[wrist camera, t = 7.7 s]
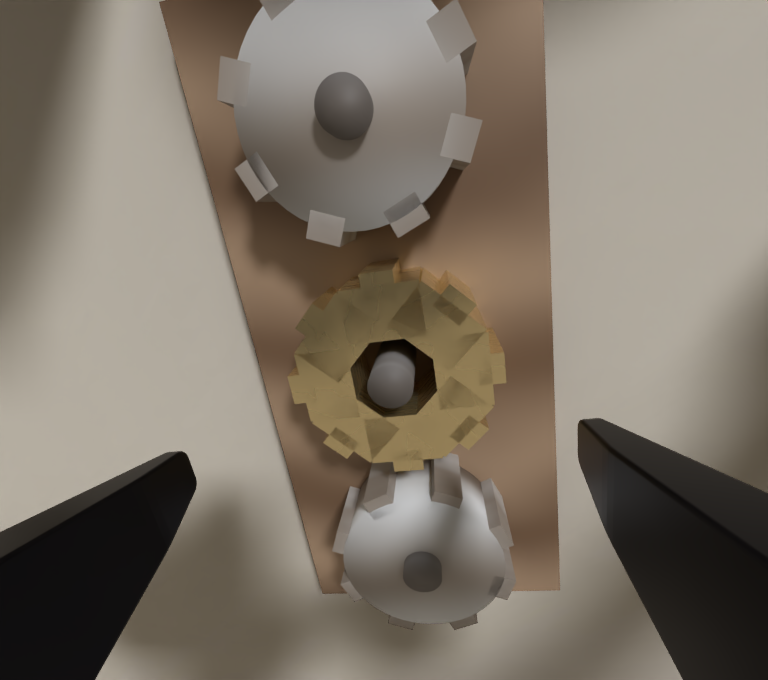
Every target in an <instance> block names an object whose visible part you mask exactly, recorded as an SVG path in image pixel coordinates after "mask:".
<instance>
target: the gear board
mask: <svg viewBox="0 0 768 680" xmlns="http://www.w3.org/2000/svg"><path fill="white" fill-rule="evenodd" d="M159 3H160V7H161V10H162V14H163V18H164V21H165V25H166V28H167V32H168V36H169V39H170V43H171V46H172V50H173V54H174V57H175V61H176V65H177V68H178V72H179V75H180V79H181V83H182V86H183V90H184V94H185V97H186V101H187V104H188V108H189V112H190V115H191V119H192V123H193V126H194V130H195V133H196V137H197V141H198V144H199V148H200V151H201V155H202V159H203V162H204V166H205V170H206V173H207V177H208V180H209V184H210V188H211V191H212V195H213V199H214V202H215V206H216V209H217V213H218V217H219V220H220V224H221V227H222V231H223V235H224V238H225V242H226V246H227V249H228V253H229V256H230V260H231V264H232V267H233V271H234V275H235V278H236V282H237V285H238V289H239V293H240V296H241V300H242V303H243V307H244V311H245V314H246V318H247V322H248V325H249V329H250V332H251V336H252V340H253V343H254V347H255V351H256V354H257V358H258V361H259V365H260V369H261V372H262V376H263V379H264V383H265V387H266V390H267V394H268V398H269V401H270V405H271V408H272V412H273V416H274V419H275V423H276V427H277V430H278V434H279V437H280V441H281V445H282V448H283V452H284V456H285V459H286V463H287V466H288V470H289V474H290V477H291V481H292V484H293V488H294V492H295V495H296V499H297V503H298V506H299V510H300V513H301V517H302V521H303V524H304V528H305V532H306V535H307V539H308V542H309V546H310V550H311V553H312V557H313V560H314V564H315V568H316V571H317V575H318V579H319V582H320V586H321V589H322V593H323V594H332V593H348V594H349V596H350V597H351V598H352V599H353V601H354V602H355V601H358V600H361V599H363V598H364V599H365V600H366V601H367V602H368V603H370V604H371V605H372V606H374V607H375V608H377V609H379V610H380V611H382V612H384V613H386V614H388V615H389V621H388V623H390V624H393V625H397V626H400V627H404V628H407V629H411V630H413V627H414V625H415V623H422V624H442V623H450V624H451V626H452V627H453V628H454V630H456V629H459V628H463V627H466V626H469V625H473V624H476V623H478V622H477V613H478V612H479V611H481V610H482V609H484V608H485V607H486V606H487V605H488V604H489V603H491V602H492V601H493V599H494V598H495V597H498V598H502V599H505V600H507V599H508V597H509V595H510V593H511V591H539V590H560V573H559V538H558V504H557V469H556V434H555V399H554V364H553V329H552V294H551V260H550V225H549V190H548V155H547V120H546V85H545V50H544V16H543V0H165V1H161V2H159ZM395 258H399V262H400V268H401V269H407V268H413V267H420V266H421V269H422V268H423V267H424V268H425V269H426V270H428V271H429V272H430V273H432V274H433V275H434V276H436V277H437V278H438V279H440V277H441V276H442V275H443V274H444V272H445V271H446V270H447V271H449V272H450V273H451V274H453V275H454V276H455V277H457V278H458V279H459V280H461V281H462V282H463V283H465V284H466V285H467V286H469V287H470V290H471V292H472V294H473V296H474V298H475V301H476V303H477V306H476V307H477V308H478V310H479V312H480V314H481V316H482V318H483V321H484V323H485V325H486V327H487V328H491V327H492V328H493V330H494V332H495V334H496V337H497V339H498V341H499V343H500V345H501V347H502V349H503V351H504V356H505V369H506V383H502V384H493V390H494V401H495V405H494V407H493V408H492V410H491V411H490V412H489V413H488V414H487V415H486V419H487V423H488V427H489V430H488V431H487V432H486V433H485V434H484V435H483V436H482V437H481V438H480V439H479V440H478V441H477V442H476V443H475V444H474V445H473V446H472V447H471V448H470V449H469V450H468V449H467V448H465V447H464V446H462V445H461V444H460V443H459V444H458V445H457V446H456V447H455V448H454V449H453V450H452V451H451V452H450V453H449V454H448V455H447V456H446V457H444V456H443V458H438V459H424V470H411V471H397V472H395V471H394V465H393V462H382V463H373V462H372V461H371V463H370V462H369V461H367V460H366V459H364V458H363V457H361V456H360V455H358V454H357V453H355V452H354V451H353V453H352V454H351V455H350V456H349V457H348V459H346V458H345V457H344V456H342V455H341V454H339V453H338V452H336V451H335V450H333V449H332V448H330V447H329V446H327V445H326V444H324V443H323V442H324V440H325V437H326V435H327V433H326V432H324V431H323V430H321V429H320V428H318V427H317V426H315V425H314V424H312V423H313V421H311V420H310V416H309V412H308V408H307V405H306V403H300V404H294V400H293V396H292V392H291V388H290V385H289V381H288V377H287V376H288V375H289V374H290V373H291V372H292V370H293V369H294V368H295V367H296V361H295V357H294V354H295V351H296V350H297V348H298V347H299V345H300V344H301V342H302V341H303V339H304V338H305V337H306V336H305V335H304V334H302V333H301V332H299V331H298V330H296V329H295V328H296V326H297V325H298V323H299V322H300V320H301V319H302V317H303V316H304V314H305V313H306V311H307V310H308V308H309V307H310V305H311V304H312V303H313V302H314V301H315V300H316V299H318V298H319V297H320V296H321V295H322V294H323V293H325V292H326V291H327V290H328V289H329V288H330V287H333V288H334V289H336V290H337V291H338V290H339V289H340V288H341V287H342V286H343V285H344V284H345V283H346V282H347V281H348V280H349V279H350V278H352V277H353V276H358V274H359V273H360V272H361V271H362V270H363V269H364V268H365V267H366V266H367V265H368V264H369V263H370V262H375V261H382V260H388V259H395ZM364 350H365V355H366V360H367V366H368V369H370V370H371V374H370V377H369V379H368V383H367V390H368V393H369V396H370V397H371V399H372V400H373V401H374V402H375V403H376V404H378V405H380V406H382V407H385V408H398V407H401V406H403V405H405V404H406V403H407V402H408V401H409V400H410V398H411V397H412V394H413V388H414V382H419V381H420V380H421V378H422V377H423V376H424V375H425V374H426V372H427V371H428V370H429V369H430V368H431V367H432V365H433V364H434V363H433V359H432V358H431V357H429V356H428V355H427V354H425V353H424V352H422V351H421V350H420V349H418V348H417V347H415V346H414V345H413V344H411V343H410V342H408V341H407V340H406V339H397V340H389V341H380V342H372V343H369V344H368V346H367V347H366V348H365V349H364Z"/></svg>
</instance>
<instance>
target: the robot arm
mask: <svg viewBox="0 0 768 680" xmlns="http://www.w3.org/2000/svg"><path fill="white" fill-rule="evenodd" d="M578 458H579V463H580V466H581V469H582V472H583V474H584V477H585V479H586V482H587V484H588V487H589V490H590V492H591V495H592V497H593V500H594V503H595V505H596V508H597V510H598V513H599V516H600V518H601V521H602V523H603V526H604V528H605V531H606V533H607V535H608V537H609V539H610V541H611V543H612V545H613V547H614V549H615V551H616V553H617V555H618V557H619V559H620V560H621V562H622V564H623V566H624V568H625V570H626V572H627V574H628V576H629V578H630V580H631V581H632V583H633V585H634V587H635V589H636V591H637V593H638V595H639V597H640V599H641V601H642V602H643V604H644V606H645V608H646V610H647V612H648V614H649V616H650V618H651V620H652V622H653V623H654V625H655V627H656V629H657V631H658V633H659V635H660V637H661V639H662V641H663V643H664V644H665V646H666V648H667V650H668V652H669V654H670V656H671V658H672V660H673V662H674V664H675V665H676V667H677V669H678V671H679V673H680V675H681V677H682V679H683V680H768V493H766V492H764V491H762V490H759V489H757V488H755V487H753V486H751V485H748V484H746V483H744V482H742V481H739V480H737V479H735V478H733V477H730V476H728V475H726V474H724V473H722V472H719V471H717V470H715V469H713V468H710V467H708V466H706V465H704V464H701V463H699V462H697V461H695V460H693V459H690V458H688V457H686V456H684V455H681V454H679V453H677V452H675V451H672V450H670V449H668V448H666V447H664V446H661V445H659V444H657V443H655V442H652V441H650V440H648V439H646V438H643V437H641V436H639V435H637V434H635V433H632V432H630V431H628V430H626V429H623V428H621V427H619V426H617V425H614V424H612V423H610V422H608V421H606V420H603V419H601V418H593V419H583V420H580V421H579V423H578ZM196 484H197V482H196V477H195V474H194V472H193V469H192V466H191V463H190V461H189V458H188V456H187V454H186V453H185V452H182V451H177V452H167V453H164V454H162V455H160V456H158V457H156V458H154V459H152V460H150V461H148V462H146V463H144V464H142V465H139V466H137V467H135V468H133V469H131V470H129V471H127V472H125V473H123V474H121V475H119V476H116V477H114V478H112V479H110V480H108V481H106V482H104V483H102V484H100V485H98V486H96V487H93V488H91V489H89V490H87V491H85V492H83V493H81V494H79V495H77V496H75V497H73V498H71V499H68V500H66V501H64V502H62V503H60V504H58V505H56V506H54V507H52V508H50V509H48V510H45V511H43V512H41V513H39V514H37V515H35V516H33V517H31V518H29V519H27V520H25V521H22V522H20V523H18V524H16V525H14V526H12V527H10V528H8V529H6V530H4V531H2V532H0V680H95V679H96V677H97V675H98V674H99V672H100V670H101V668H102V666H103V665H104V663H105V661H106V659H107V658H108V656H109V654H110V652H111V651H112V649H113V647H114V645H115V643H116V642H117V640H118V638H119V636H120V635H121V633H122V631H123V629H124V627H125V626H126V624H127V622H128V620H129V619H130V617H131V615H132V613H133V612H134V610H135V608H136V606H137V604H138V603H139V601H140V599H141V597H142V596H143V594H144V592H145V590H146V588H147V587H148V585H149V583H150V581H151V580H152V578H153V576H154V574H155V573H156V571H157V569H158V567H159V565H160V564H161V562H162V560H163V558H164V556H165V555H166V553H167V551H168V549H169V547H170V545H171V543H172V541H173V538H174V536H175V534H176V532H177V530H178V527H179V525H180V523H181V521H182V519H183V516H184V514H185V512H186V510H187V508H188V505H189V503H190V501H191V499H192V497H193V494H194V492H195V490H196Z"/></svg>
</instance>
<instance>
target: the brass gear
mask: <svg viewBox="0 0 768 680" xmlns="http://www.w3.org/2000/svg"><path fill="white" fill-rule="evenodd" d="M476 306H477V303H476V301H475V298H474V296H473V294H472V292H471V290H470V287H469V286H467V285H466V284H465V283H463V282H462V281H461V280H459V279H458V278H457V277H455V276H454V275H453V274H451V273H450V272H449V271H447V270H446V271H445V272H444V274H443V275H442V276H441V277H440V279H438V278H437V277H436V276H434V275H433V274H432V273H430V272H429V271H428V270H426V269H425V268H424V267H423V268H422V269H421V266H420V267H413V268H407V269H401V268H400V262H399V258H395V259H388V260H382V261H375V262H370V263H369V264H368V265H367V266H366V267H365V268H364V269H363V270H362V271H361V272H360V273H359V274H358V276H353V277H352V278H350V279H349V280H348V281H347V282H346V283H345V284H344V285H343V286H342V287H341V288H340V289H339V290H338V291H337V290H336V289H334V288H333V287H330V288H329V289H328V290H327V291H326V292H325V293H323V294H322V295H321V296H320V297H319V298H318V299H316V300H315V301H314V302H313V303H312V304H311V305H310V307H309V308H308V310H307V311H306V313H305V314H304V316H303V317H302V319H301V320H300V322H299V323H298V325H297V326H296V328H295V329H296V330H298V331H299V332H301V333H302V334H304V335H305V336H306V337H305V338H304V339H303V341H302V342H301V344H300V345H299V347H298V348H297V350H296V351H295V354H294V357H295V361H296V367H295V368H294V369H293V370H292V372H291V373H290V374H289V375H288V376H287V377H288V381H289V385H290V388H291V392H292V396H293V400H294V404H300V403H306V405H307V408H308V412H309V416H310V420H311V421H313V423H312V424H314V425H315V426H317V427H318V428H320V429H321V430H323V431H324V432H326V433H327V435H326V437H325V440H324V442H323V443H324V444H326V445H327V446H329V447H330V448H332V449H333V450H335V451H336V452H338V453H339V454H341V455H342V456H344V457H345V458H346V459H348V457H349V456H350V455H351V454H352V453H353V451H354V452H355V453H357V454H358V455H360V456H361V457H363V458H364V459H366V460H367V461H369V462H370V463H371V461H372V462H373V463H382V462H393V465H394V471H395V472H397V471H411V470H424V459H438V458H443V456H444V457H446V456H447V455H448V454H449V453H450V452H451V451H452V450H453V449H454V448H455V447H456V446H457V445H458V444H459V443H460V444H461V445H462V446H464V447H465V448H467V449H468V450H469V449H470V448H471V447H472V446H473V445H474V444H475V443H476V442H477V441H478V440H479V439H480V438H481V437H482V436H483V435H484V434H485V433H486V432H487V431H488V430H489V427H488V423H487V419H486V415H487V414H488V413H489V412H490V411H491V410H492V408H493V407H494V405H495V401H494V390H493V384H502V383H506V369H505V356H504V351H503V349H502V347H501V345H500V343H499V341H498V339H497V337H496V334H495V332H494V330H493V328H492V327H491V328H487V327H486V325H485V323H484V321H483V318H482V316H481V314H480V312H479V310H478V308H477V307H476ZM397 339H406V340H407V341H408V342H410V343H411V344H413V345H414V346H415V347H417V348H418V349H420V350H421V351H422V352H424V353H425V354H427V355H428V356H429V357H431V358H432V359H433V363H434V364H433V365H432V367H431V368H430V369H429V370H428V371H427V372H426V374H425V375H424V376H423V377H422V378H421V380H420V381H419V382H414V388H413V394H412V397H411V398H410V400H409V401H408V402H407V403H406V404H405V405H403V406H401V407H398V408H385V407H382V406H380V405H378V404H376V403H375V402H374V401H373V400H372V399H371V397H370V396H369V393H368V390H367V383H368V379H369V377H370V374H371V370H370V369H368V366H367V360H366V355H365V350H364V349H365V348H366V347H367V346H368V344H369V343H372V342H380V341H389V340H397Z"/></svg>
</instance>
